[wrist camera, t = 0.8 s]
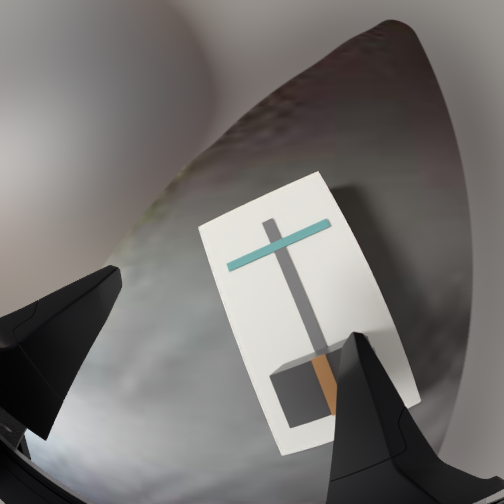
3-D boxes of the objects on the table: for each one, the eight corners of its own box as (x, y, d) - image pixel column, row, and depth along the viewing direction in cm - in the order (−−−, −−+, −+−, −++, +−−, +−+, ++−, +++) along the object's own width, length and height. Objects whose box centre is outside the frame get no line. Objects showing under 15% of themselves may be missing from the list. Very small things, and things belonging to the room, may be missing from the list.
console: (409, 392, 16) (421, 401, 13) (288, 440, 18) (281, 456, 15) (320, 189, 22) (318, 170, 20) (213, 238, 24) (197, 226, 21)
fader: (373, 376, 15) (388, 392, 11) (299, 405, 16) (290, 430, 11) (356, 332, 16) (367, 334, 12) (283, 363, 17) (268, 375, 12)
